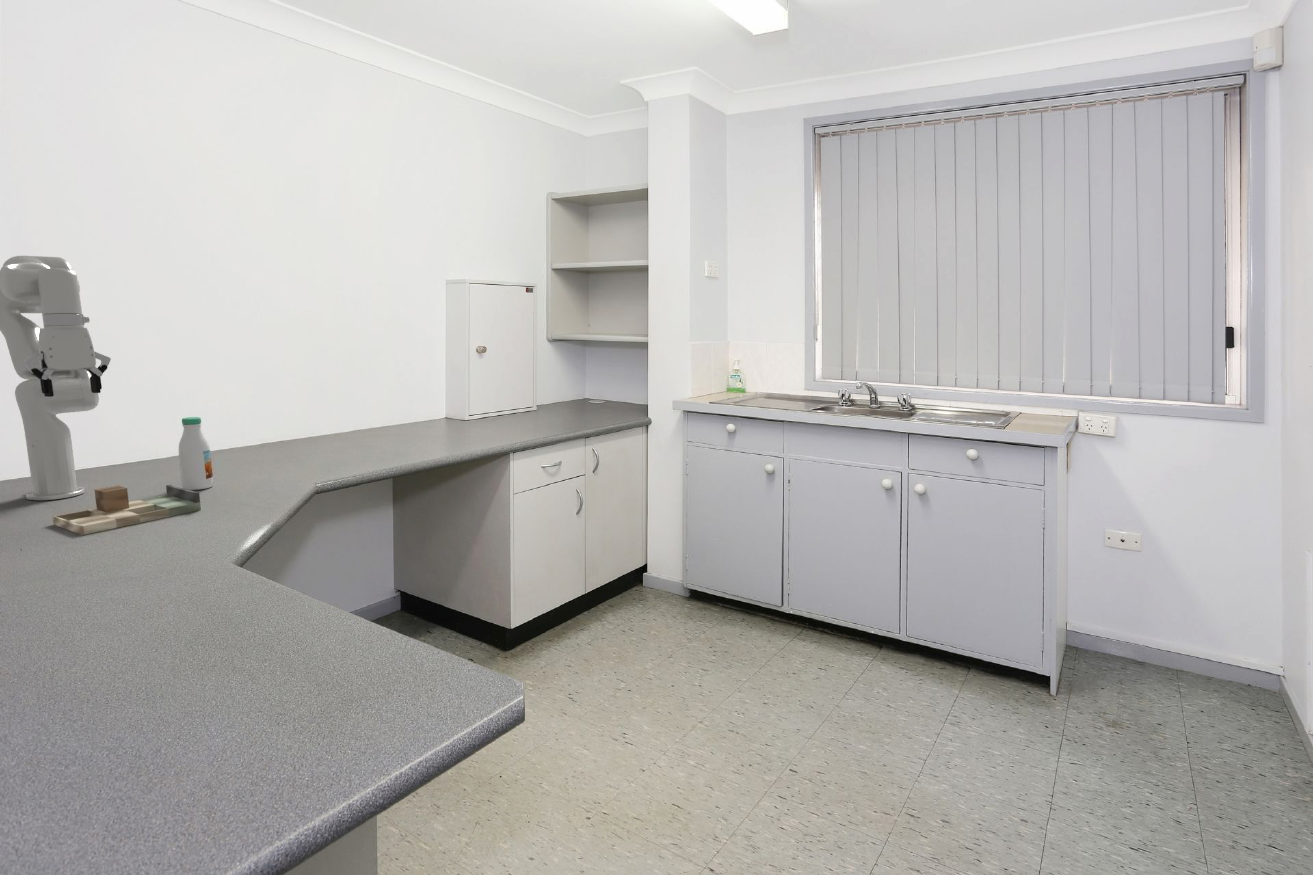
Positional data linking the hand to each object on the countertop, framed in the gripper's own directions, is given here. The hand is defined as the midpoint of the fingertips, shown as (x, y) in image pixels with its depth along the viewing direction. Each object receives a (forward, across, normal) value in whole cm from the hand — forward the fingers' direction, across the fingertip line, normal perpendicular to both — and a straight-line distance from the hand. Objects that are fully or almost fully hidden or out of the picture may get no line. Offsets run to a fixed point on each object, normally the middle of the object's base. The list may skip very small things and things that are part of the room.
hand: (73, 394), depth 184 cm
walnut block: (+28, -3, +4) cm, 29 cm away
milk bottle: (+30, -31, -9) cm, 44 cm away
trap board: (+30, -5, +8) cm, 32 cm away
